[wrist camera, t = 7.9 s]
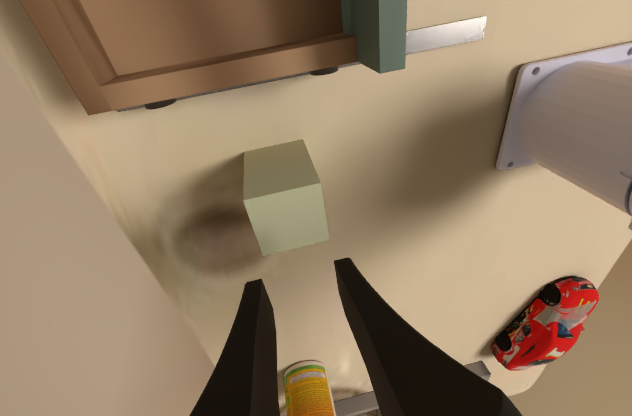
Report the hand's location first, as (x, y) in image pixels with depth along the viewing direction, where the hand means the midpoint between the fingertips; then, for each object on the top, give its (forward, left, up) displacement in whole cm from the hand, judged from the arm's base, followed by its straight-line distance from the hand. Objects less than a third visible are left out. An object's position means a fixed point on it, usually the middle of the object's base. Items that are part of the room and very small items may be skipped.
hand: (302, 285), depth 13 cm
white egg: (-1, +45, -11) cm, 46 cm away
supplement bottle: (+3, +28, -11) cm, 30 cm away
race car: (-29, +30, -11) cm, 43 cm away
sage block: (0, 0, -10) cm, 10 cm away
